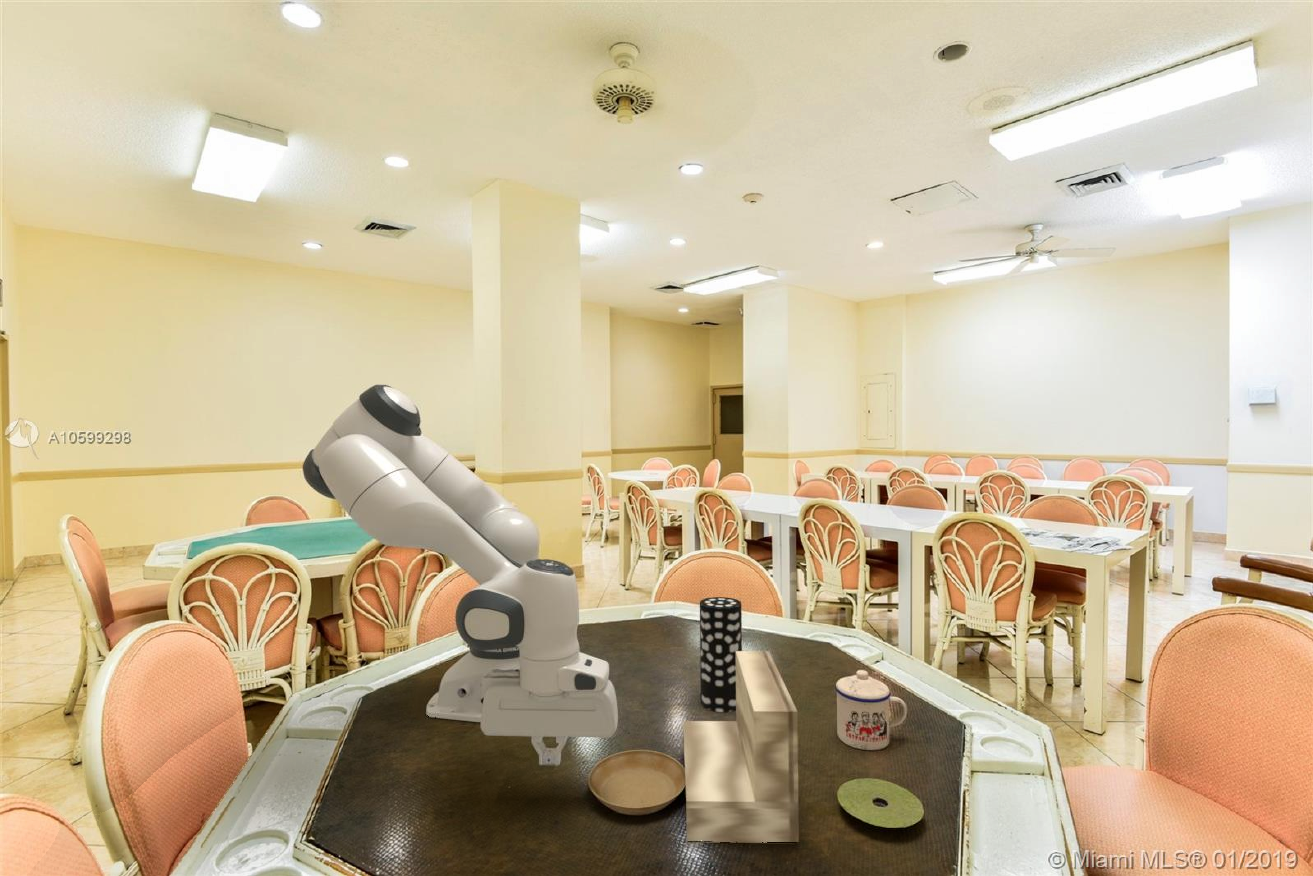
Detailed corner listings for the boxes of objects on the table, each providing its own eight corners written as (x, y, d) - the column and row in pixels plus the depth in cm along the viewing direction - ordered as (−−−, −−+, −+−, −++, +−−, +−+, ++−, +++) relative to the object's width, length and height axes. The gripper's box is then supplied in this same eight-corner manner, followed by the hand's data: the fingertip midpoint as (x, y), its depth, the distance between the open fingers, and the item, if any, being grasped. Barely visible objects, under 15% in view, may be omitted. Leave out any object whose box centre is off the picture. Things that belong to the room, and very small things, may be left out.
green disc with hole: (852, 842, 76) (852, 827, 76) (827, 791, 87) (827, 778, 87) (939, 841, 76) (939, 826, 76) (902, 790, 87) (902, 777, 87)
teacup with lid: (842, 751, 98) (841, 681, 98) (831, 725, 107) (830, 661, 107) (916, 753, 97) (915, 683, 97) (898, 727, 106) (897, 663, 106)
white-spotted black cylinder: (741, 714, 112) (740, 609, 112) (698, 710, 114) (697, 607, 114) (743, 695, 120) (742, 598, 120) (703, 692, 122) (702, 596, 122)
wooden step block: (686, 842, 76) (685, 711, 76) (683, 752, 98) (682, 651, 98) (798, 843, 76) (797, 711, 76) (770, 753, 98) (769, 651, 98)
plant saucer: (707, 802, 85) (707, 784, 85) (618, 840, 77) (618, 820, 77) (653, 756, 98) (652, 740, 98) (571, 785, 90) (571, 768, 90)
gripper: (473, 677, 85) (473, 773, 85) (614, 679, 84) (614, 776, 84) (488, 661, 91) (488, 751, 91) (619, 663, 90) (619, 753, 90)
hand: (550, 763), depth 87 cm, fingers closed
